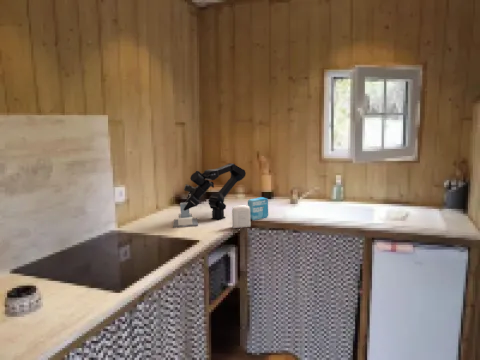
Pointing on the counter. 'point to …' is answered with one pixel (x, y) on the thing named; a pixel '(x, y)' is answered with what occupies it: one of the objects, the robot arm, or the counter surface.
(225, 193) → the robot arm
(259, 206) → the data package
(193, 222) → the board
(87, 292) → the counter surface
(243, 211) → the photo printer
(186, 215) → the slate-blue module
